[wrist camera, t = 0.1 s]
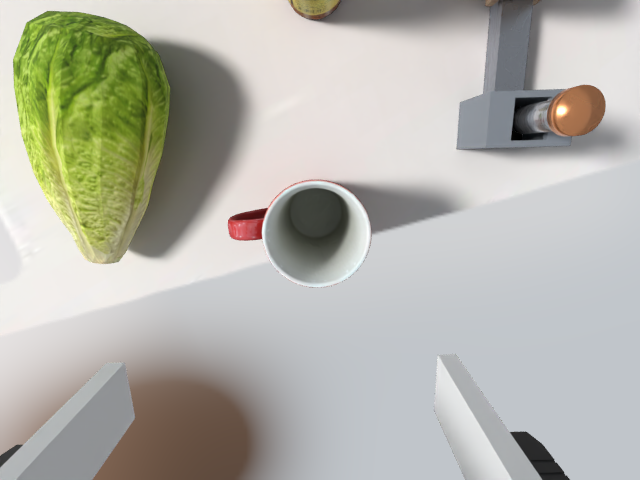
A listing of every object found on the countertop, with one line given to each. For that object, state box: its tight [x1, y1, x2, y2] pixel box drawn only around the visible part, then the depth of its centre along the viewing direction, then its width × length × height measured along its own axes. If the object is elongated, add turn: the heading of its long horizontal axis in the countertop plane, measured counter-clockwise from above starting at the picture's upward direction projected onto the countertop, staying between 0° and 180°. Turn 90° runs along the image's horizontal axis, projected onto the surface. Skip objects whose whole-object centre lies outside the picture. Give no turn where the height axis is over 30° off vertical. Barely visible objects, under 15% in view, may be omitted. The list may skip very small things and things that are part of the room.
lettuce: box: [13, 11, 170, 264], centre depth 35 cm, size 12×24×13 cm
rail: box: [483, 0, 533, 94], centre depth 35 cm, size 15×3×2 cm, turn 1°
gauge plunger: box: [512, 85, 605, 136], centre depth 29 cm, size 4×4×7 cm
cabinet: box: [457, 89, 572, 149], centre depth 35 cm, size 5×8×7 cm, turn 91°
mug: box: [228, 180, 371, 288], centre depth 34 cm, size 13×9×14 cm
